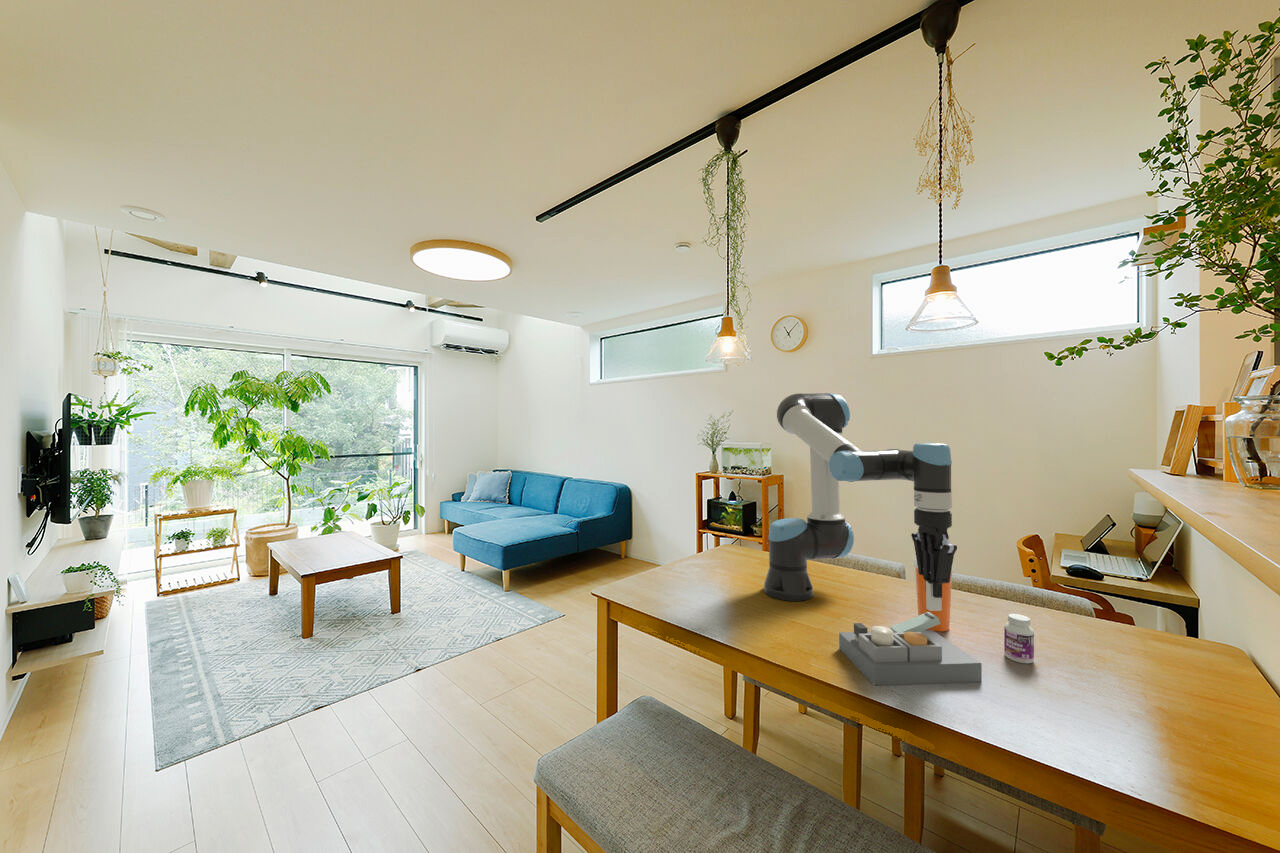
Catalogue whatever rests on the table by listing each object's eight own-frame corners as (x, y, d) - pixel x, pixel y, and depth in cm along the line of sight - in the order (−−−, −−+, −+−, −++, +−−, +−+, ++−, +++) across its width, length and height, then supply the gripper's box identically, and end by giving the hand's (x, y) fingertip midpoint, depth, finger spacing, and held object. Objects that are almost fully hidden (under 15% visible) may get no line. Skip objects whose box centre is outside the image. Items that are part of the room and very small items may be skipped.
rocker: (892, 632, 112) (889, 626, 112) (930, 617, 112) (928, 610, 112) (900, 639, 108) (898, 632, 108) (940, 623, 109) (938, 616, 109)
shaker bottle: (960, 634, 121) (959, 557, 121) (921, 631, 123) (921, 555, 123) (944, 620, 130) (944, 548, 130) (909, 618, 131) (908, 546, 131)
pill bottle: (1003, 659, 108) (1003, 617, 108) (1005, 650, 112) (1004, 610, 112) (1034, 666, 105) (1033, 623, 105) (1034, 657, 109) (1034, 616, 109)
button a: (867, 639, 105) (867, 626, 105) (886, 639, 105) (886, 625, 105) (877, 649, 101) (877, 635, 101) (897, 648, 101) (897, 634, 101)
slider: (853, 633, 111) (853, 623, 111) (861, 633, 111) (861, 623, 111) (859, 638, 108) (859, 628, 108) (867, 638, 108) (867, 628, 108)
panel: (839, 648, 114) (839, 620, 114) (931, 646, 115) (931, 617, 115) (874, 685, 98) (874, 651, 98) (981, 681, 99) (981, 648, 99)
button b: (900, 645, 106) (899, 631, 106) (919, 644, 106) (918, 631, 106) (912, 654, 101) (911, 640, 101) (931, 654, 101) (931, 640, 101)
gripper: (900, 504, 117) (901, 599, 117) (935, 514, 104) (936, 621, 103) (929, 504, 117) (931, 599, 117) (968, 513, 104) (970, 620, 104)
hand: (933, 609), depth 110 cm, fingers closed
